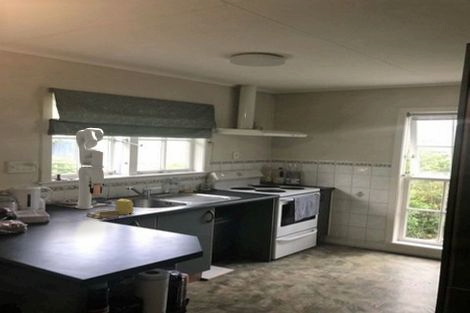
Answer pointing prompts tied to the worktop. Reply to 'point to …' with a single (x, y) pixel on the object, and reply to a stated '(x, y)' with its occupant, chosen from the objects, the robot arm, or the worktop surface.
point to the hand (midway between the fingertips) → (95, 192)
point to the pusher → (101, 211)
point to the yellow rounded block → (124, 206)
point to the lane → (104, 214)
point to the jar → (96, 190)
